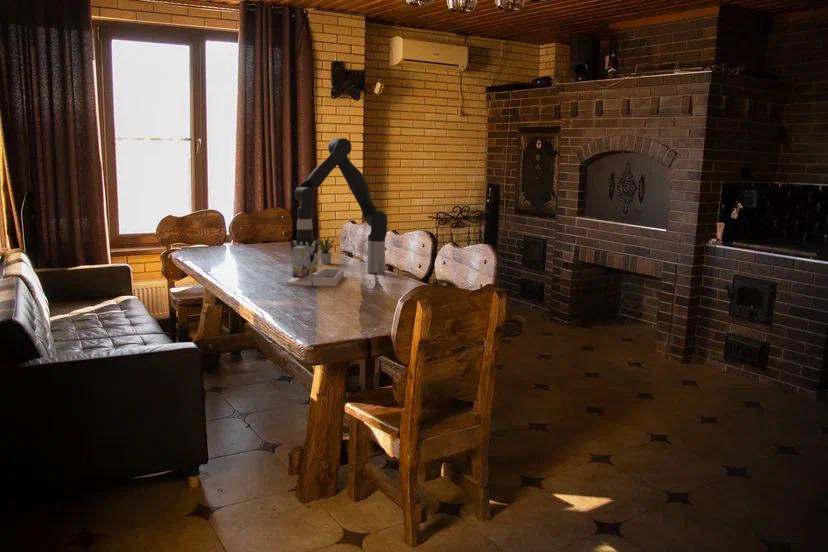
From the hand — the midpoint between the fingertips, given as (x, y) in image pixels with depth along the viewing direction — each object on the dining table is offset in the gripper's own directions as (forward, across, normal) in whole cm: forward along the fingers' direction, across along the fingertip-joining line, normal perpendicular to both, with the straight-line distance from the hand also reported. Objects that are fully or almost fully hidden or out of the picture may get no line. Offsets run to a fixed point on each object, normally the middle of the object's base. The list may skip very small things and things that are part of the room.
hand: (305, 261), depth 345 cm
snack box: (+7, 0, 0) cm, 7 cm away
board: (+9, 0, 0) cm, 9 cm away
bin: (+9, -12, 0) cm, 15 cm away
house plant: (+10, -1, -51) cm, 52 cm away
